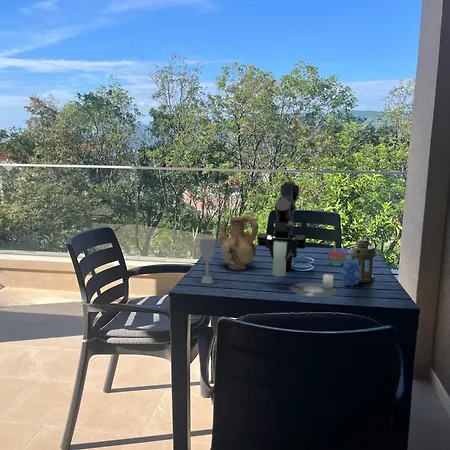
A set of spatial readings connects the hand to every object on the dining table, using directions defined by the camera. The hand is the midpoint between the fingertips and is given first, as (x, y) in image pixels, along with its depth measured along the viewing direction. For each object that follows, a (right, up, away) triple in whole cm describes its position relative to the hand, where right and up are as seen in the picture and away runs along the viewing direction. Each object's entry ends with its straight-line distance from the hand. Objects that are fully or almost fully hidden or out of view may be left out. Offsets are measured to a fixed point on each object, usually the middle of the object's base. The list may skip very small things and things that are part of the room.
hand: (279, 259), depth 175 cm
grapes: (+31, -13, +10) cm, 35 cm away
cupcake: (+33, -6, +46) cm, 57 cm away
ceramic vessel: (-15, -7, +38) cm, 42 cm away
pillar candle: (0, -6, +3) cm, 7 cm away
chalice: (-28, -11, +15) cm, 33 cm away
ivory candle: (+20, -12, +6) cm, 24 cm away
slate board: (+14, -13, +3) cm, 19 cm away
